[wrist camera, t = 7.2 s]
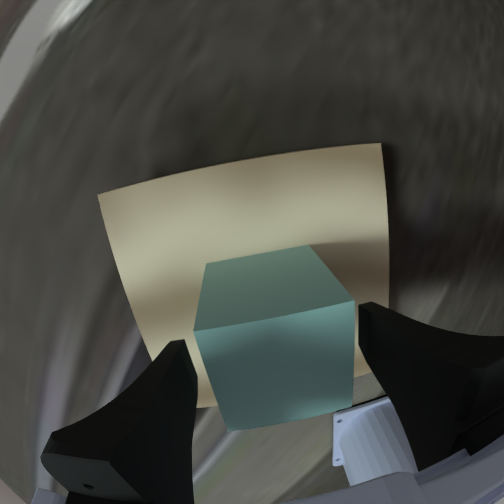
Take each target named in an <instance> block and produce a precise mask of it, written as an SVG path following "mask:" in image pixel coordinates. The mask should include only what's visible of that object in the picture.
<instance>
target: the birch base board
mask: <svg viewBox="0 0 504 504" xmlns="http://www.w3.org/2000/svg"><path fill="white" fill-rule="evenodd" d="M98 199H99V203H100V207H101V211H102V215H103V219H104V223H105V227H106V230H107V234H108V238H109V241H110V245H111V248H112V251H113V255H114V258H115V261H116V264H117V268H118V271H119V274H120V277H121V280H122V283H123V286H124V289H125V292H126V295H127V297H128V300H129V303H130V306H131V308H132V311H133V314H134V317H135V319H136V322H137V324H138V327H139V330H140V332H141V335H142V337H143V339H144V342H145V344H146V347H147V349H148V352H149V354H150V356H151V359H152V361H153V360H154V359H155V358H156V357H157V356H158V355H159V353H160V352H161V351H162V350H163V349H164V347H165V346H166V345H167V344H168V343H169V342H170V341H173V340H181V339H185V342H186V345H187V348H188V351H189V354H190V356H191V359H192V362H193V365H194V367H195V370H196V373H197V375H198V400H197V408H201V407H210V406H218V403H217V401H216V398H215V395H214V392H213V389H212V387H211V384H210V381H209V378H208V375H207V372H206V369H205V366H204V364H203V361H202V358H201V355H200V351H199V348H198V345H197V342H196V339H195V336H194V333H193V329H194V324H195V318H196V313H197V307H198V302H199V297H200V292H201V286H202V281H203V276H204V271H205V266H206V263H211V262H217V261H222V260H228V259H233V258H239V257H244V256H250V255H255V254H260V253H266V252H271V251H277V250H282V249H288V248H293V247H298V246H304V245H309V246H310V247H311V249H312V250H313V251H314V252H315V253H316V254H317V256H318V257H319V258H320V259H321V260H322V261H323V263H324V264H325V265H326V266H327V267H328V269H329V270H330V271H331V272H332V273H333V275H334V276H335V277H336V278H337V279H338V281H339V282H340V283H341V284H342V285H343V287H344V288H345V289H346V290H347V291H348V293H349V294H350V295H351V296H352V298H353V299H354V300H355V354H354V377H358V376H361V375H364V374H368V373H371V372H372V371H371V369H370V367H369V366H368V364H367V363H366V360H365V358H364V356H363V354H362V352H361V349H360V347H359V345H358V305H359V304H363V303H367V302H371V301H372V302H375V303H377V304H380V305H382V306H384V307H386V308H388V306H389V232H388V212H387V198H386V186H385V175H384V166H383V157H382V149H381V143H370V144H354V145H344V146H334V147H325V148H317V149H309V150H301V151H294V152H287V153H280V154H274V155H268V156H261V157H255V158H250V159H244V160H238V161H233V162H228V163H223V164H217V165H212V166H208V167H203V168H198V169H193V170H189V171H184V172H180V173H176V174H171V175H167V176H163V177H159V178H155V179H151V180H147V181H143V182H139V183H136V184H132V185H128V186H124V187H121V188H117V189H114V190H111V191H108V192H105V193H102V194H99V195H98Z"/></svg>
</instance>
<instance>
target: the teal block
mask: <svg viewBox="0 0 504 504" xmlns="http://www.w3.org/2000/svg"><path fill="white" fill-rule="evenodd" d="M193 333H194V336H195V339H196V342H197V345H198V348H199V351H200V355H201V358H202V361H203V364H204V366H205V369H206V372H207V375H208V378H209V381H210V384H211V387H212V389H213V392H214V395H215V398H216V401H217V403H218V406H219V409H220V411H221V414H222V417H223V419H224V422H225V424H226V427H227V430H228V431H236V430H244V429H251V428H257V427H264V426H269V425H275V424H281V423H286V422H291V421H296V420H300V419H305V418H309V417H314V416H318V415H322V414H326V413H330V412H334V411H337V410H341V409H345V408H348V407H352V398H353V380H354V354H355V300H354V299H353V298H352V296H351V295H350V294H349V293H348V291H347V290H346V289H345V288H344V287H343V285H342V284H341V283H340V282H339V281H338V279H337V278H336V277H335V276H334V275H333V273H332V272H331V271H330V270H329V269H328V267H327V266H326V265H325V264H324V263H323V261H322V260H321V259H320V258H319V257H318V256H317V254H316V253H315V252H314V251H313V250H312V249H311V247H310V246H309V245H304V246H298V247H293V248H288V249H282V250H277V251H271V252H266V253H260V254H255V255H250V256H244V257H239V258H233V259H228V260H222V261H217V262H211V263H206V266H205V271H204V276H203V281H202V286H201V292H200V297H199V302H198V307H197V313H196V318H195V324H194V329H193Z"/></svg>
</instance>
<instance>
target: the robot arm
mask: <svg viewBox="0 0 504 504" xmlns="http://www.w3.org/2000/svg"><path fill="white" fill-rule="evenodd" d="M358 345H359V347H360V349H361V352H362V354H363V356H364V358H365V360H366V363H367V364H368V366H369V367H370V369H371V371H372V372H373V374H374V375H375V377H376V378H377V380H378V382H379V383H380V385H381V386H382V388H383V389H384V391H385V392H386V394H387V396H386V397H383V398H381V399H378V400H375V401H372V402H368V403H365V404H362V405H359V406H356V407H352V408H349V409H346V410H342V411H339V412H336V413H335V414H334V416H333V460H332V463H333V466H339V465H343V466H344V469H345V472H346V475H347V478H348V481H349V483H350V486H349V487H346V488H342V489H339V490H335V491H331V492H328V493H324V494H319V495H315V496H311V497H306V498H301V499H296V500H291V501H285V502H281V503H277V504H495V503H496V502H497V501H499V500H500V499H501V498H503V497H504V336H478V335H469V334H463V333H457V332H452V331H447V330H444V329H440V328H436V327H433V326H430V325H427V324H424V323H421V322H419V321H416V320H414V319H411V318H409V317H406V316H404V315H402V314H399V313H397V312H395V311H393V310H391V309H388V308H386V307H384V306H382V305H380V304H377V303H375V302H372V301H371V302H367V303H363V304H359V305H358ZM197 400H198V375H197V373H196V370H195V367H194V365H193V362H192V359H191V356H190V354H189V351H188V348H187V345H186V342H185V339H181V340H173V341H170V342H169V343H168V344H167V345H166V346H165V347H164V349H163V350H162V351H161V352H160V353H159V355H158V356H157V357H156V358H155V359H154V360H153V362H152V363H151V364H150V365H149V366H148V367H147V368H146V370H145V371H144V372H143V373H142V374H141V375H140V376H139V377H138V378H137V379H136V380H135V381H134V382H133V383H132V384H131V385H130V386H129V387H128V388H127V389H126V390H124V391H123V392H122V393H121V394H120V395H118V396H117V397H116V398H115V399H113V400H112V401H111V402H109V403H108V404H106V405H105V406H103V407H102V408H101V409H99V410H98V411H96V412H94V413H93V414H91V415H89V416H88V417H86V418H84V419H82V420H80V421H78V422H76V423H74V424H72V425H69V426H67V427H64V428H62V429H59V430H57V431H54V432H52V433H51V436H50V438H49V440H48V442H47V444H46V446H45V448H44V450H43V452H42V455H41V462H42V464H43V466H44V467H45V469H46V470H47V471H48V472H49V473H50V474H51V475H52V476H53V477H54V478H55V479H56V480H57V481H58V482H59V483H60V484H61V485H62V486H64V487H65V488H66V489H67V490H68V491H69V493H68V497H67V498H66V497H65V496H63V495H61V494H58V493H55V492H51V491H48V490H45V489H41V488H37V490H36V492H35V495H34V498H33V500H32V503H31V504H194V495H193V481H192V438H193V430H194V423H195V415H196V408H197Z"/></svg>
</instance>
